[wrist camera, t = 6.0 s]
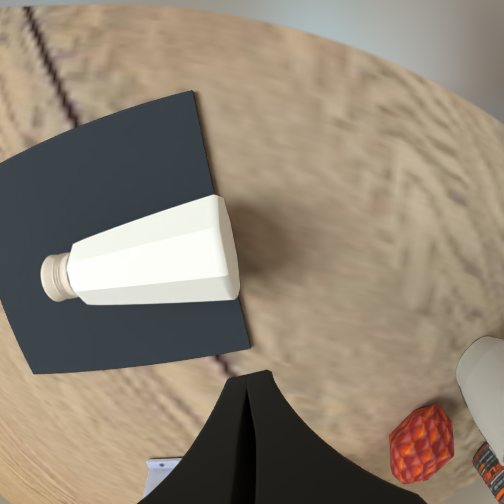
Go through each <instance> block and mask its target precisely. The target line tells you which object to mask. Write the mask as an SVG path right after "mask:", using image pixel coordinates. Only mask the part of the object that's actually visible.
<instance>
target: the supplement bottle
mask: <svg viewBox="0 0 504 504" xmlns="http://www.w3.org/2000/svg"><path fill="white" fill-rule="evenodd" d="M473 464H474V466H475V468H476V469H477V471H478V473H479V474H480V475H481V477H482V478H483V480H484V481H485V483H486V484H487V485H488V487H489V489H490V490H491V492H492V493H493V495H494V496H495V498H496V499H497V501H498V502H499V503H500V504H504V466H503V465H501V463H500V462H499V460H498V458H497V457H496V455H495V454H494V452H493V451H492V449H491V447H490V446H489V444H488V443H487V442H486V443H485V444H484V445H483V446H482V447H481V448H480V449H479V451H478V452H477V453H476V455H475V457H474V459H473Z"/></svg>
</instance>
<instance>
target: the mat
mask: <svg viewBox="0 0 504 504" xmlns="http://www.w3.org/2000/svg"><path fill="white" fill-rule="evenodd" d="M211 195H215V193H214V188H213V184H212V179H211V174H210V170H209V165H208V161H207V156H206V151H205V147H204V142H203V137H202V132H201V128H200V123H199V118H198V113H197V108H196V103H195V99H194V94H193V91H192V90H191V91H187V92H183V93H179V94H175V95H172V96H168V97H164V98H161V99H157V100H154V101H150V102H147V103H144V104H141V105H137V106H134V107H131V108H128V109H125V110H122V111H119V112H116V113H113V114H111V115H108V116H105V117H102V118H100V119H97V120H94V121H92V122H89V123H86V124H84V125H81V126H79V127H76V128H74V129H71V130H69V131H67V132H64V133H62V134H60V135H57V136H55V137H53V138H51V139H48V140H46V141H44V142H42V143H40V144H38V145H35V146H33V147H31V148H29V149H27V150H25V151H23V152H21V153H19V154H17V155H15V156H13V157H11V158H9V159H7V160H6V161H4V162H2V163H0V300H1V303H2V305H3V308H4V311H5V313H6V316H7V318H8V321H9V323H10V325H11V328H12V330H13V332H14V335H15V337H16V339H17V341H18V344H19V346H20V348H21V350H22V352H23V354H24V356H25V358H26V360H27V363H28V365H29V366H30V368H31V370H32V372H33V374H53V373H70V372H84V371H96V370H107V369H118V368H127V367H136V366H144V365H152V364H160V363H167V362H174V361H181V360H188V359H194V358H200V357H206V356H212V355H218V354H224V353H229V352H235V351H240V350H245V349H250V348H251V346H250V342H249V338H248V334H247V330H246V325H245V321H244V317H243V313H242V309H241V305H240V301H239V297H237V298H236V299H235V300H221V301H202V302H181V303H157V304H123V305H89V304H86V303H85V302H84V301H83V300H82V299H81V298H80V297H79V296H78V297H76V298H71V299H65V300H63V301H60V302H57V301H54V300H52V299H51V298H50V297H49V296H48V295H47V294H46V292H45V290H44V288H43V286H42V281H41V268H42V264H43V262H44V260H45V259H46V258H47V257H48V256H50V255H59V254H62V253H67V252H68V253H70V252H71V249H72V246H73V244H74V243H76V242H79V241H81V240H83V239H86V238H88V237H91V236H94V235H96V234H99V233H102V232H104V231H107V230H110V229H112V228H115V227H118V226H121V225H124V224H126V223H129V222H132V221H135V220H138V219H141V218H143V217H146V216H149V215H152V214H155V213H158V212H161V211H164V210H167V209H170V208H173V207H176V206H179V205H182V204H185V203H188V202H191V201H195V200H198V199H201V198H204V197H207V196H211Z"/></svg>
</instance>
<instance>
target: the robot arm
mask: <svg viewBox="0 0 504 504" xmlns="http://www.w3.org/2000/svg"><path fill="white" fill-rule="evenodd" d="M146 464H147V466H148V468H149V473H148V478H147V482H146V486H145V490H144V495H143V499H142V500H141V501H140V502H138V503H137V504H427V503H426V502H425V501H424V500H423V499H422V498H421V497H420V496H419V495H418V494H416V493H413V492H410V491H408V490H405V489H403V488H400V487H398V486H396V485H393V484H391V483H389V482H387V481H385V480H383V479H381V478H379V477H377V476H375V475H373V474H371V473H369V472H368V471H366V470H364V469H363V468H361V467H360V466H358V465H356V464H355V463H353V462H352V461H350V460H349V459H347V458H346V457H344V456H343V455H341V454H340V453H338V452H337V451H336V450H335V449H333V448H332V447H331V446H329V445H328V444H327V443H326V442H325V441H324V440H322V439H321V438H320V437H319V436H318V435H317V434H316V433H315V432H314V431H313V430H312V429H311V428H310V427H309V426H308V425H307V424H306V423H305V422H304V421H303V420H302V419H301V418H300V417H299V416H298V414H297V413H296V412H295V411H294V410H293V408H292V407H291V406H290V404H289V403H288V402H287V401H286V399H285V398H284V396H283V395H282V393H281V392H280V390H279V388H278V387H277V385H276V383H275V381H274V378H273V375H272V372H271V371H269V370H264V371H260V372H255V373H251V374H246V375H242V376H237V377H232V378H229V379H228V380H227V381H226V383H225V386H224V388H223V390H222V392H221V395H220V397H219V399H218V401H217V403H216V405H215V407H214V409H213V411H212V413H211V414H210V416H209V418H208V420H207V422H206V424H205V425H204V427H203V429H202V430H201V432H200V433H199V435H198V436H197V438H196V440H195V441H194V443H193V444H192V446H191V447H190V449H189V450H188V451H187V453H186V454H185V455H184V457H183V458H172V459H149V460H147V463H146Z"/></svg>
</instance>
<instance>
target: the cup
mask: <svg viewBox="0 0 504 504" xmlns="http://www.w3.org/2000/svg"><path fill="white" fill-rule="evenodd" d="M456 379H457V382H458V385H459V387H460V390H461V393H462V396H463V399H464V402H465V404H466V406H467V407H468V409H469V411H470V413H471V415H472V417H473V419H474V421H475V423H476V425H477V427H478V429H479V431H480V432H481V434H482V435H483V437H484V438H485V440H486V441H487V443H488V444H489V446H490V447H491V449H492V451H493V452H494V454H495V455H496V457H497V458H498V460H499V462H500V463H501V465H503V466H504V340H502V339H498V338H494V337H489V336H486V337H482V338H480V339H478V340H477V341H475V342H474V343H473V344H472V345H471V346H470V347H469V348H468V349H467V350H466V351H465V353H464V354H463V355H462V357H461V359H460V361H459V363H458V366H457V369H456Z"/></svg>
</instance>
